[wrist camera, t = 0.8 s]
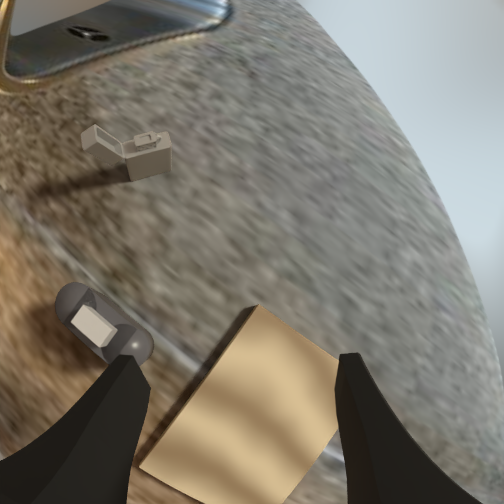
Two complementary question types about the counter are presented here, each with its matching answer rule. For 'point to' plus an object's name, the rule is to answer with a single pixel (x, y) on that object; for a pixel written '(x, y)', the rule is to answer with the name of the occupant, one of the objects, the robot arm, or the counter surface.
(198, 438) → the birch board
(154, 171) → the lighter
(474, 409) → the counter surface
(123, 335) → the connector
